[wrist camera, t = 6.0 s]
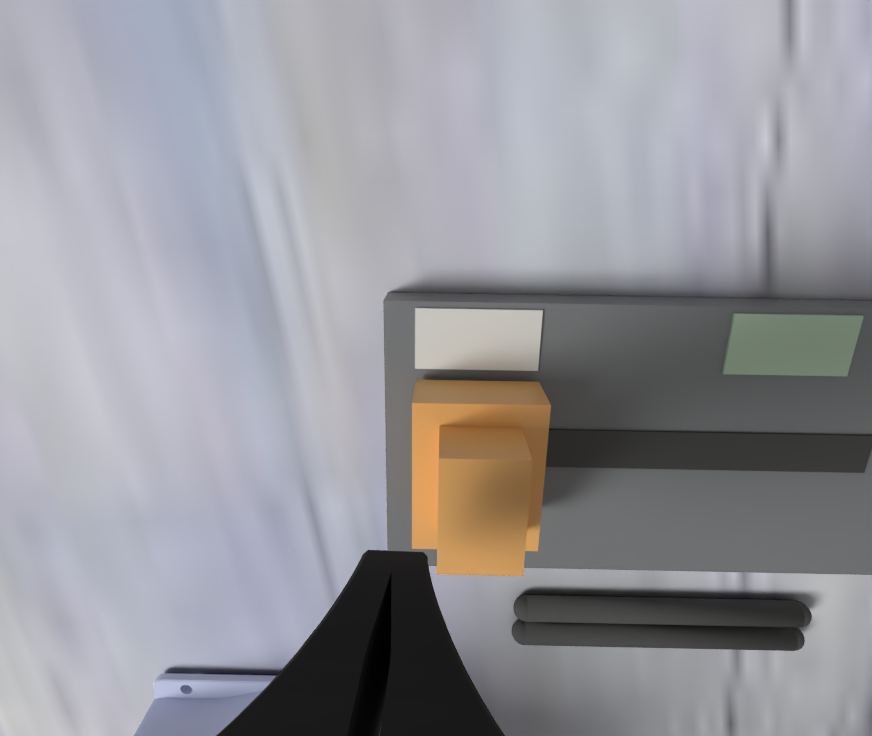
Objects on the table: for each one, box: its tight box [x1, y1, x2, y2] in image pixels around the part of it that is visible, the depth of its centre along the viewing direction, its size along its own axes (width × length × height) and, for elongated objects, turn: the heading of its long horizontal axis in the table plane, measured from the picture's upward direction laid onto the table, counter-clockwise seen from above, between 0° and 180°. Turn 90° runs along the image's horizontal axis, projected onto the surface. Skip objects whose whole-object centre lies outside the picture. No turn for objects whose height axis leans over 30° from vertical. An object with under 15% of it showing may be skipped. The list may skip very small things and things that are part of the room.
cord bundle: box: [512, 595, 812, 651], centre depth 22 cm, size 12×2×1 cm, turn 89°
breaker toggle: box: [412, 379, 551, 576], centre depth 16 cm, size 4×5×4 cm
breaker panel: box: [384, 292, 872, 575], centre depth 19 cm, size 20×10×2 cm, turn 89°
